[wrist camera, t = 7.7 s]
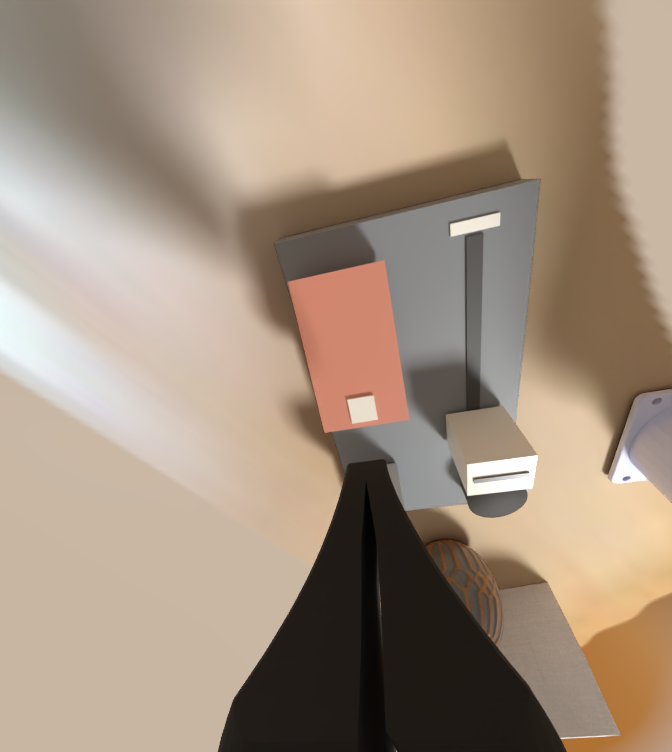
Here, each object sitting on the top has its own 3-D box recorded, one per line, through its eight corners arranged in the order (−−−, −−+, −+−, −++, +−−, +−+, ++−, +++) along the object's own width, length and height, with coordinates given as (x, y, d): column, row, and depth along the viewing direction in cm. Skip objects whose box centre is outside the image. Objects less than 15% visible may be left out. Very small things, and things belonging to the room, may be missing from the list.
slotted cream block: (502, 405, 18) (538, 456, 15) (500, 436, 19) (533, 490, 16) (445, 414, 18) (467, 466, 15) (447, 444, 20) (468, 497, 16)
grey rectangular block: (479, 593, 33) (524, 734, 25) (547, 581, 32) (621, 729, 23) (485, 607, 35) (529, 744, 26) (549, 598, 33) (619, 740, 25)
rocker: (382, 261, 14) (384, 259, 12) (405, 407, 16) (409, 421, 14) (294, 281, 14) (287, 281, 13) (327, 420, 16) (324, 434, 15)
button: (517, 458, 20) (530, 478, 19) (513, 493, 22) (524, 514, 21) (460, 465, 21) (468, 485, 19) (461, 499, 23) (468, 520, 21)
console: (522, 179, 14) (553, 179, 11) (499, 482, 24) (513, 510, 22) (280, 238, 15) (269, 247, 13) (357, 499, 25) (357, 527, 23)
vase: (447, 577, 32) (479, 699, 24) (391, 557, 30) (406, 682, 22) (498, 544, 28) (553, 674, 21) (438, 520, 27) (474, 652, 19)
